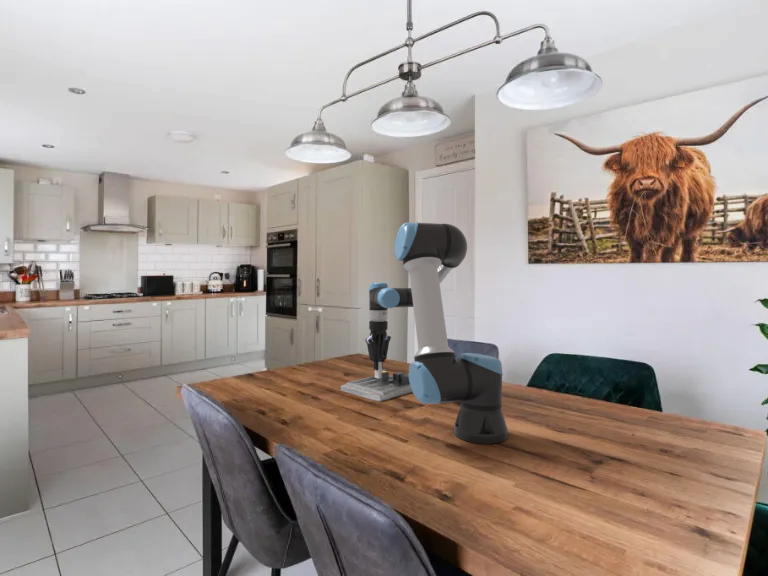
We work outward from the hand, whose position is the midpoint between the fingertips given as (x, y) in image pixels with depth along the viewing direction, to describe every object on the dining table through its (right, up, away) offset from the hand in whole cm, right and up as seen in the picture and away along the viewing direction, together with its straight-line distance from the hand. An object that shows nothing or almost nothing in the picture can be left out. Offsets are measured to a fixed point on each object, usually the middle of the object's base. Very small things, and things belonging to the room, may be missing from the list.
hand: (378, 377), depth 177 cm
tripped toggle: (+2, -2, +2) cm, 3 cm away
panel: (+2, -5, -2) cm, 5 cm away
